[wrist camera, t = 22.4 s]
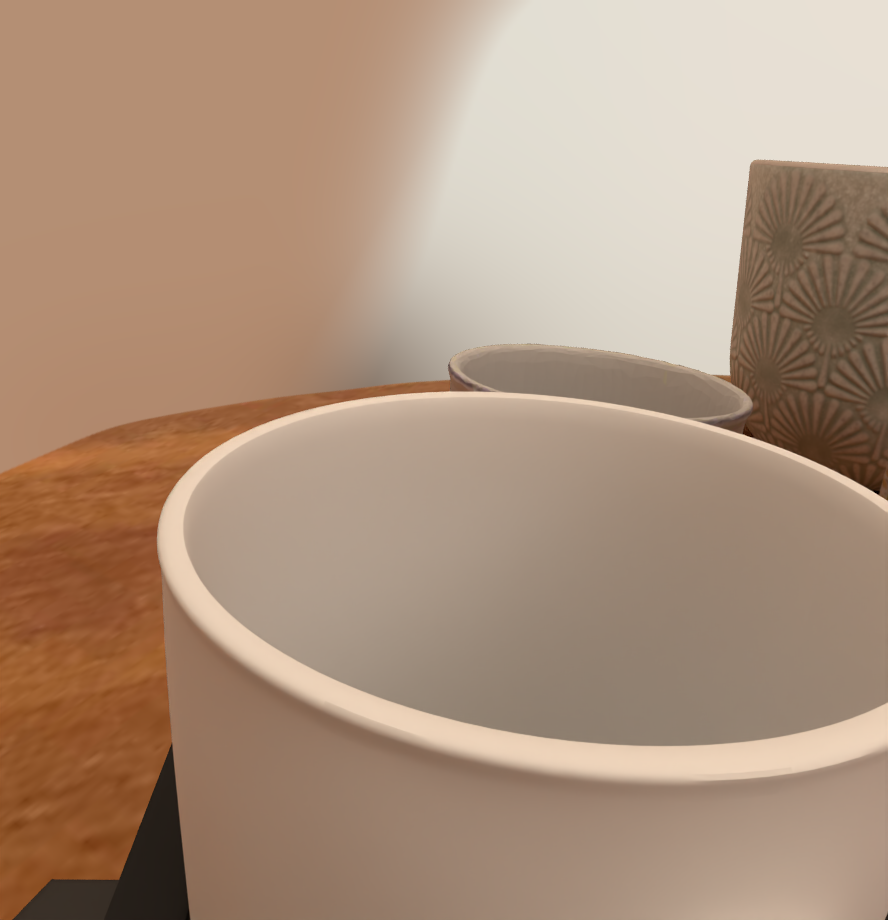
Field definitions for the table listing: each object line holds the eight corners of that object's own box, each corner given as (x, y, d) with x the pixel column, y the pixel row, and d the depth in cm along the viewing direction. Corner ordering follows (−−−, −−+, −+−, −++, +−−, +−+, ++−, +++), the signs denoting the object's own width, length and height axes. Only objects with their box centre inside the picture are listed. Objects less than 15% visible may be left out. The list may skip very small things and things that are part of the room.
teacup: (414, 512, 36) (423, 332, 33) (642, 502, 39) (668, 334, 36) (501, 717, 24) (527, 459, 21) (830, 685, 26) (895, 448, 23)
